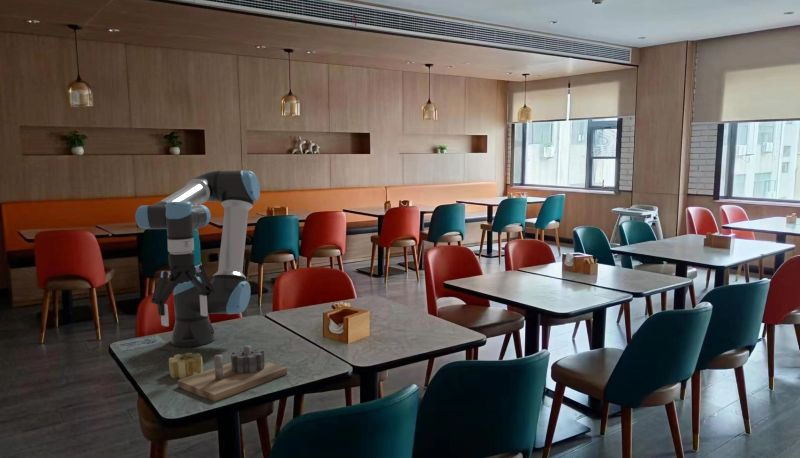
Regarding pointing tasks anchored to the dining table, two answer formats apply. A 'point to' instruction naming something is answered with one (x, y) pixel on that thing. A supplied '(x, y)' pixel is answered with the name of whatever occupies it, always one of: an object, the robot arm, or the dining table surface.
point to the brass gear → (185, 365)
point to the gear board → (233, 375)
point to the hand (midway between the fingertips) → (185, 320)
